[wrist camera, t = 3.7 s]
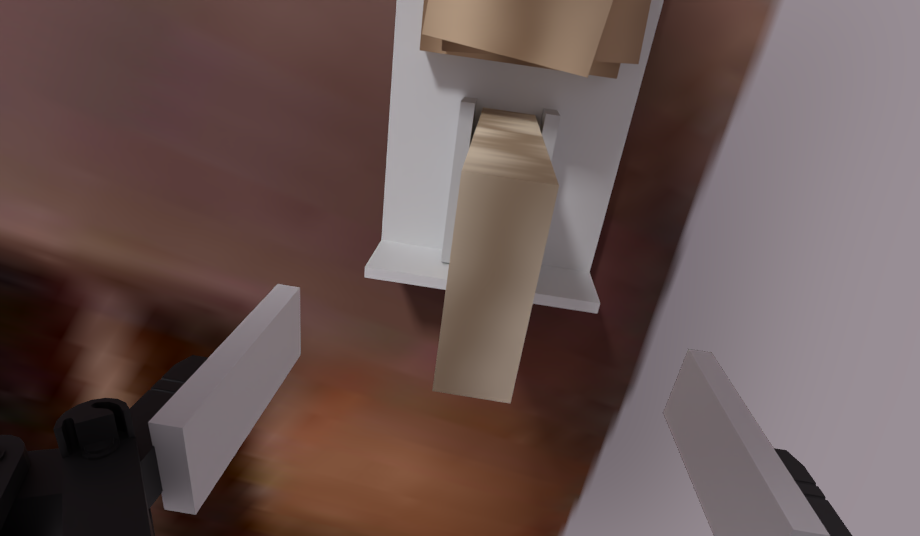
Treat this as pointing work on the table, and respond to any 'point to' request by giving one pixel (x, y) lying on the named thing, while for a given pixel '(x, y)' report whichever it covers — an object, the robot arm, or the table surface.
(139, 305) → the table surface
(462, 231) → the tan wooden block
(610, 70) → the offcut bottom
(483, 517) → the table surface
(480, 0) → the offcut top
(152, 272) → the table surface
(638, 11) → the offcut middle
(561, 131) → the rack
